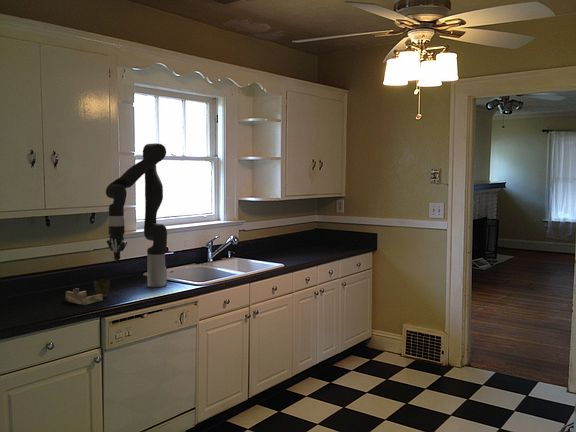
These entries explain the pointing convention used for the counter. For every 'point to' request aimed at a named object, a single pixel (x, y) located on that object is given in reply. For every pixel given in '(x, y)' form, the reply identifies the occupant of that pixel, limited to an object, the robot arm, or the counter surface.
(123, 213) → the robot arm
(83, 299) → the hub cradle
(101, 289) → the cup
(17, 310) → the counter surface
